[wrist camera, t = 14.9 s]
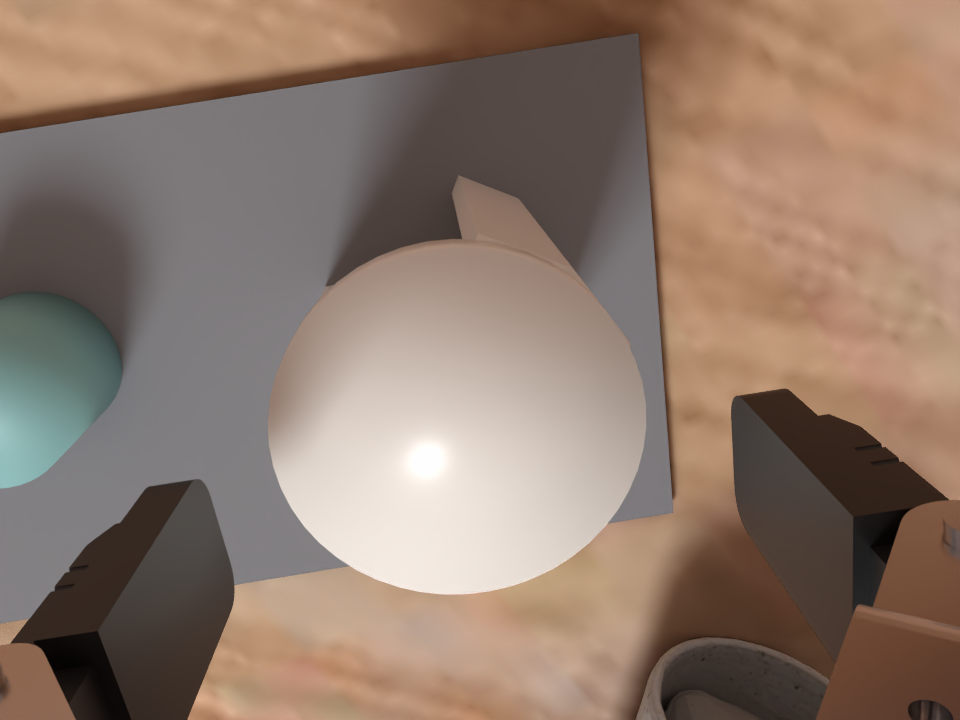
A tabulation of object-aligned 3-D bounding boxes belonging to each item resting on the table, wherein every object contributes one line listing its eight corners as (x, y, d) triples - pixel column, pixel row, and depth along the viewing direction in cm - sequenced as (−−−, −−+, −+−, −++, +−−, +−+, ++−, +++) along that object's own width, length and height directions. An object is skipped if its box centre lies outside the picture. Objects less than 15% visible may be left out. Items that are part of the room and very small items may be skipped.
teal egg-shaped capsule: (96, 280, 21) (35, 318, 18) (140, 415, 22) (91, 474, 19) (-54, 304, 21) (-142, 346, 18) (0, 438, 22) (-73, 501, 19)
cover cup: (545, 160, 21) (629, 216, 12) (573, 383, 23) (660, 561, 15) (305, 200, 21) (223, 285, 12) (356, 420, 23) (316, 621, 14)
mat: (634, 33, 20) (638, 32, 20) (669, 506, 25) (673, 512, 25) (-301, 180, 20) (-315, 182, 20) (-85, 630, 25) (-93, 638, 24)
